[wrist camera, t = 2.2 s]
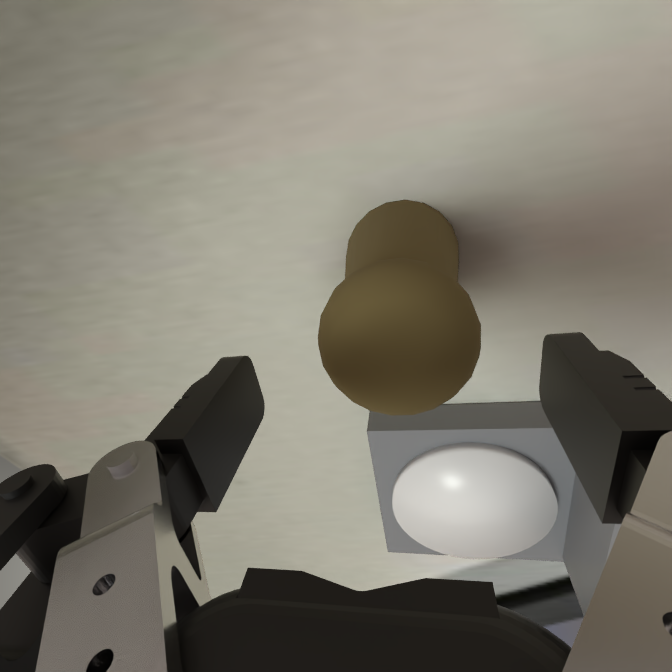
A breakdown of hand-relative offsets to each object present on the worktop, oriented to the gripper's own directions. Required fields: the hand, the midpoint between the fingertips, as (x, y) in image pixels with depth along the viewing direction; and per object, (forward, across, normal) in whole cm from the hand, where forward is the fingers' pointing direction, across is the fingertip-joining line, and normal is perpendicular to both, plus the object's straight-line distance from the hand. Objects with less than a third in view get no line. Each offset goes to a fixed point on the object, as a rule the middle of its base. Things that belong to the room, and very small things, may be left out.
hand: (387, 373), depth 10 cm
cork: (+12, 0, 0) cm, 12 cm away
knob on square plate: (+11, -5, +16) cm, 20 cm away
